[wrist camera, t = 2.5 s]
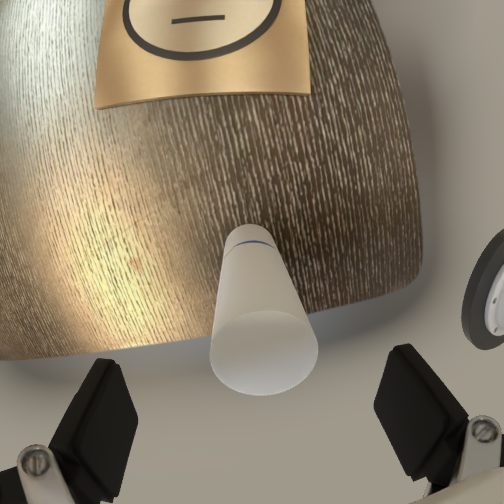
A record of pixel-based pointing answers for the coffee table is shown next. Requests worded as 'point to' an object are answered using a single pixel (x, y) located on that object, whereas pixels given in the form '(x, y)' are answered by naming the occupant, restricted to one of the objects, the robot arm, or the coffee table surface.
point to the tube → (259, 319)
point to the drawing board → (201, 50)
